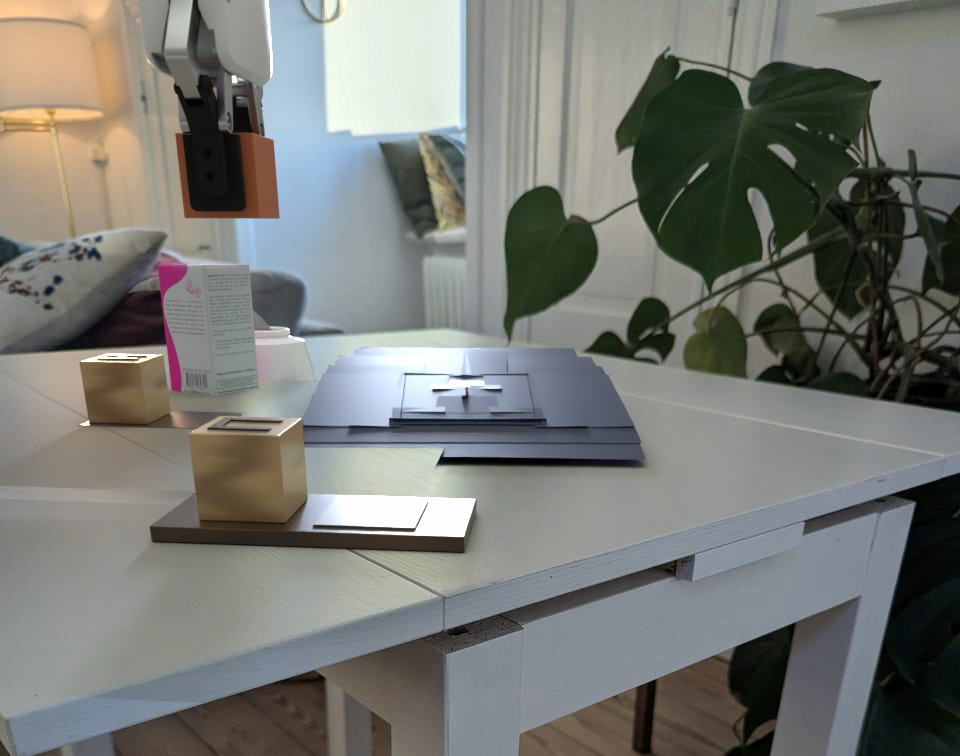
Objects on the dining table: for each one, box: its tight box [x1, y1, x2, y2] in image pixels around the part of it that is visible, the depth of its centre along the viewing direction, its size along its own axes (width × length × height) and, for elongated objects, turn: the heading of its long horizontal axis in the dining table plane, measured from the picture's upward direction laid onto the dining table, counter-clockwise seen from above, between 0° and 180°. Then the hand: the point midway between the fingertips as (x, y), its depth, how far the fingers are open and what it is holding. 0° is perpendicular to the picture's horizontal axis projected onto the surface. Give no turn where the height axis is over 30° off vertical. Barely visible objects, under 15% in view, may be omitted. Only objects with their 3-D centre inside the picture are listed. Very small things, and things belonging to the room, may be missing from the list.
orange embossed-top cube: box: [174, 132, 281, 220], centre depth 57 cm, size 5×5×5 cm
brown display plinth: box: [149, 416, 478, 553], centre depth 49 cm, size 16×7×5 cm, turn 85°
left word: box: [78, 353, 246, 430], centre depth 72 cm, size 11×6×5 cm, turn 85°
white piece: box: [128, 275, 317, 382], centre depth 92 cm, size 9×18×10 cm, turn 90°
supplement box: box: [157, 262, 260, 397], centre depth 84 cm, size 6×6×12 cm
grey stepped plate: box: [302, 346, 647, 461], centre depth 76 cm, size 24×30×4 cm
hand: (232, 208), depth 58 cm, fingers closed on orange embossed-top cube, 4 cm apart
